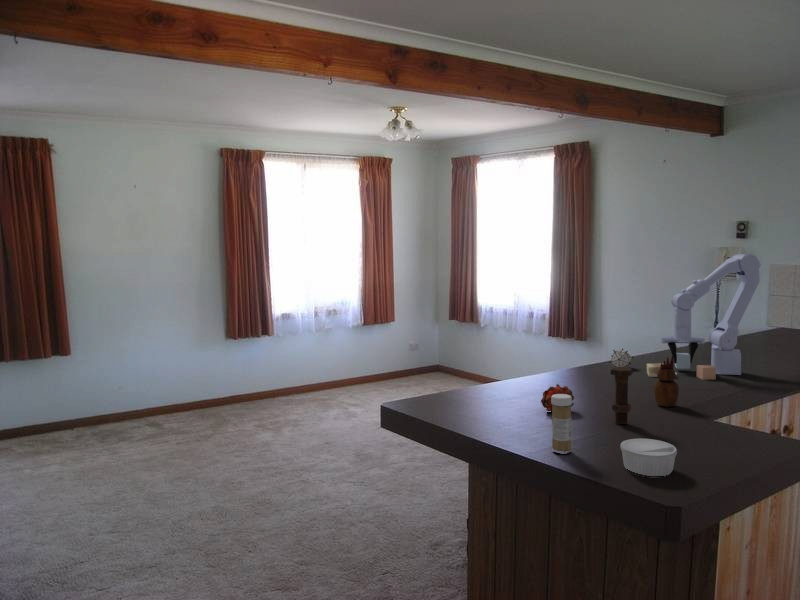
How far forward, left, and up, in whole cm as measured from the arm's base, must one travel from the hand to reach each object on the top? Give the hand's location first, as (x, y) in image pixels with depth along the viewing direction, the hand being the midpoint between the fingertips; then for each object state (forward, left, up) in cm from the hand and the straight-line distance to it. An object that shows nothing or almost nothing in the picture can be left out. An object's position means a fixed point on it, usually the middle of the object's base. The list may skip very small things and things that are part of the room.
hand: (682, 362), depth 229 cm
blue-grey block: (0, 0, -2) cm, 2 cm away
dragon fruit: (+43, +63, -4) cm, 76 cm away
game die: (+21, -3, -4) cm, 22 cm away
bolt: (+26, +72, -4) cm, 77 cm away
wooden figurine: (+12, +50, -4) cm, 52 cm away
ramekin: (+23, +107, -4) cm, 110 cm away
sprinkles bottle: (+41, +99, -4) cm, 107 cm away
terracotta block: (-6, +11, -4) cm, 13 cm away
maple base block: (+9, +8, -3) cm, 13 cm away
